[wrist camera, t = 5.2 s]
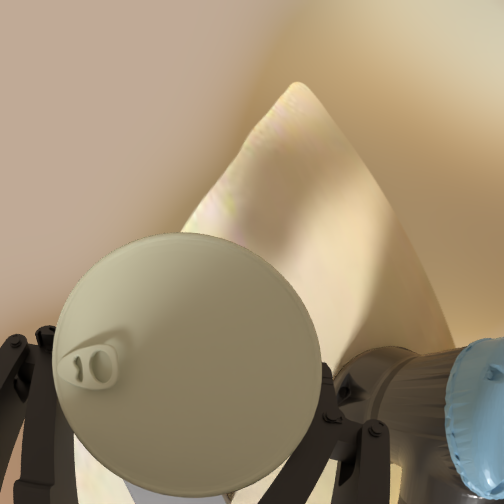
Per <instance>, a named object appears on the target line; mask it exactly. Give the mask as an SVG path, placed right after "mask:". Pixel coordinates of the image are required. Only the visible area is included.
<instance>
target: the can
mask: <svg viewBox="0 0 504 504" xmlns="http://www.w3.org/2000/svg"><path fill="white" fill-rule="evenodd" d="M52 368H53V378H54V383H55V388H56V392H57V396H58V399H59V402H60V405H61V408H62V411H63V413H64V415H65V417H66V419H67V421H68V423H69V425H70V427H71V429H72V430H73V432H74V433H75V435H76V437H77V438H78V439H79V441H80V442H81V443H82V444H83V446H84V447H85V448H86V449H87V450H88V451H89V453H90V454H91V455H92V456H93V457H94V458H95V459H96V460H97V461H99V462H100V463H101V464H102V465H103V466H104V467H106V468H107V469H108V470H110V471H111V472H113V473H114V474H116V475H117V476H119V477H120V478H122V479H124V480H126V481H127V482H129V483H131V484H133V485H136V486H138V487H140V488H143V489H145V490H148V491H151V492H154V493H158V494H162V495H167V496H174V497H182V498H204V497H213V496H219V495H223V494H228V493H231V492H234V491H238V490H240V489H242V488H245V487H247V486H250V485H252V484H254V483H256V482H257V481H259V480H261V479H262V478H264V477H266V476H267V475H269V474H270V473H271V472H273V471H274V470H275V469H276V468H278V467H279V466H280V465H281V464H282V463H283V462H284V461H285V460H286V459H287V458H288V457H289V456H290V455H291V454H292V453H293V451H294V450H295V449H296V448H297V446H298V445H299V443H300V442H301V440H302V439H303V437H304V436H305V434H306V432H307V430H308V428H309V426H310V424H311V422H312V420H313V417H314V414H315V411H316V408H317V405H318V401H319V396H320V391H321V383H322V362H321V352H320V346H319V341H318V337H317V334H316V331H315V328H314V324H313V322H312V320H311V318H310V315H309V313H308V311H307V309H306V307H305V305H304V304H303V302H302V300H301V298H300V297H299V296H298V294H297V293H296V291H295V290H294V289H293V287H292V286H291V285H290V284H289V282H288V281H287V280H286V279H285V278H284V277H283V276H282V275H281V274H280V273H279V272H278V271H277V270H276V269H275V268H274V267H273V266H272V265H270V264H269V263H268V262H266V261H265V260H264V259H262V258H261V257H259V256H258V255H256V254H254V253H253V252H251V251H249V250H248V249H246V248H244V247H242V246H240V245H237V244H235V243H233V242H230V241H228V240H225V239H222V238H218V237H214V236H210V235H204V234H198V233H183V232H176V233H164V234H158V235H152V236H148V237H144V238H141V239H138V240H135V241H132V242H130V243H128V244H126V245H124V246H122V247H120V248H118V249H116V250H114V251H113V252H111V253H109V254H108V255H107V256H105V257H103V258H102V259H101V260H100V261H98V262H97V263H96V264H95V265H94V266H93V267H91V269H89V271H88V272H87V273H86V274H85V275H84V276H83V277H82V278H81V279H80V281H79V282H78V283H77V285H76V286H75V288H74V289H73V290H72V292H71V293H70V295H69V297H68V299H67V301H66V303H65V305H64V307H63V309H62V311H61V314H60V317H59V321H58V324H57V327H56V331H55V335H54V342H53V352H52Z"/></svg>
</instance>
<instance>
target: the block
mask: <svg viewBox="0 0 504 504" xmlns="http://www.w3.org/2000/svg"><path fill="white" fill-rule="evenodd" d="M123 480H124V479H123ZM124 482H125V484H126V486H127V488H128V490H129V492H130V494H131V496H132V498H133V500H134V502H135V504H231V502H230V500H229V498H228V496H227V494H223V495H219V496H213V497H204V498H182V497H174V496H167V495H162V494H158V493H154V492H151V491H148V490H145V489H143V488H140V487H138V486H136V485H133V484H131V483H129V482H127V481H126V480H124Z"/></svg>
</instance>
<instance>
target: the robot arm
mask: <svg viewBox="0 0 504 504" xmlns="http://www.w3.org/2000/svg"><path fill="white" fill-rule="evenodd" d="M55 331H56V327H55V326H50V325H49V326H44V327H41V328H39V329H38V330H37V331H36V333H35V336H36V339H37V342H38V345H33V344H28V342H27V339H26V337H25V336H23V335H20V334H15V335H12V336H10V337H8V339H6V341H5V342H4V344H3V345H2V346H1V348H0V491H1V487H2V483H3V480H4V476H5V473H6V469H7V466H8V463H9V460H10V457H11V454H12V451H13V448H14V445H15V442H16V440H17V437H18V434H19V431H20V429H21V426H22V424H23V421H24V419H25V422H24V431H23V441H22V454H21V476H20V479H19V480H16V481H15V483H14V487H13V498H14V499H13V500H14V504H78V497H77V488H76V477H75V462H74V432H73V430H72V429H71V427H70V425H69V423H68V421H67V419H66V417H65V415H64V413H63V411H62V408H61V405H60V402H59V399H58V396H57V392H56V388H55V383H54V378H53V368H52V352H53V342H54V335H55ZM332 378H333V377H332V372H331V369H330V368H329V367H328V365H327V364H326V363H323V362H322V383H321V391H320V396H319V401H318V405H317V408H316V411H315V414H314V417H313V420H312V422H311V424H310V426H309V428H308V430H307V432H306V434H305V436H304V437H303V439H302V440H301V442H300V443H299V445H298V446H297V448H296V449H295V450H294V451H293V453H292V454H291V456H290V457H289V459H288V460H287V462H286V464H285V465H284V467H283V468H282V470H281V471H280V473H279V474H278V476H277V477H276V478H275V480H274V481H273V483H272V484H271V486H270V487H269V488H268V490H267V491H266V493H265V494H264V495H263V497H262V498H261V499H260V501H259V502H258V503H257V504H305V503H306V501H307V499H308V498H309V496H310V494H311V492H312V491H313V489H314V487H315V485H316V483H317V481H318V479H319V478H320V476H321V474H322V472H323V470H324V468H325V466H326V464H327V462H328V460H329V458H330V459H334V460H337V461H338V463H337V470H336V477H335V483H334V489H333V495H332V500H331V504H389V499H390V464H392V463H394V464H396V465H398V466H401V467H402V477H401V485H400V494H399V500H398V504H504V337H500V338H496V339H491V338H484V339H480V340H477V341H475V342H472V343H470V344H469V345H468V346H466V347H462V348H457V349H452V350H447V351H442V352H436V353H431V354H425V355H420V354H417V353H415V352H413V351H411V350H408V349H406V348H402V347H395V346H388V347H381V348H377V349H372V350H369V351H366V352H364V353H361V354H360V355H358V356H356V357H355V358H353V359H352V360H351V361H349V362H348V363H347V364H346V365H345V366H344V367H343V368H342V369H341V370H340V372H339V373H338V374H337V376H336V377H335V379H334V381H333V379H332Z"/></svg>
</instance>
